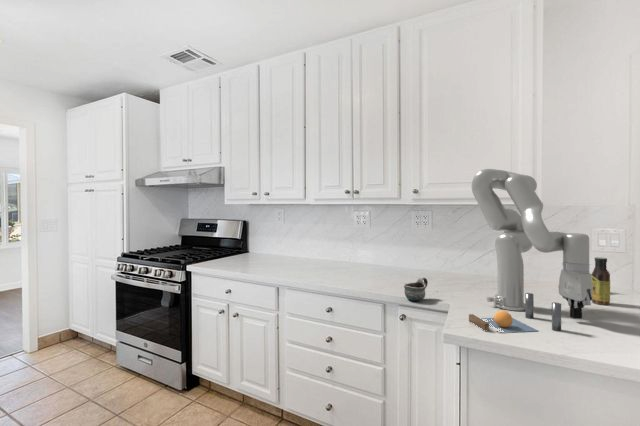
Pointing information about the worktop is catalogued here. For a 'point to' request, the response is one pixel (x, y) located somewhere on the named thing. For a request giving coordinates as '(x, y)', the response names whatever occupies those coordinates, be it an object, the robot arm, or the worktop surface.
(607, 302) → the sauce bottle
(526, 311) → the base side post
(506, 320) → the ball
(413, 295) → the mug
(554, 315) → the edge side post
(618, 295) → the worktop surface
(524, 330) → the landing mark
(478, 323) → the wall
